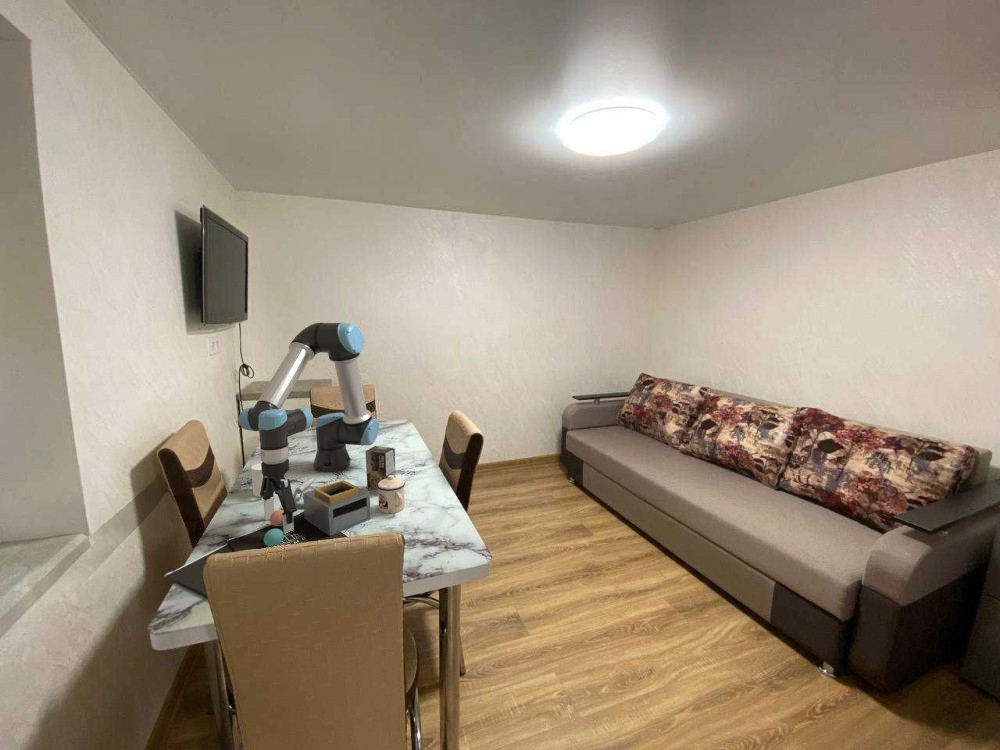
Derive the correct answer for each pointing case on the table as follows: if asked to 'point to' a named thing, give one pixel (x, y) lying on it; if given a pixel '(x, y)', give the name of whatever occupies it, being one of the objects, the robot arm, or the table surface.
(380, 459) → the coffee box
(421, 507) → the table surface
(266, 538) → the ball teal
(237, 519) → the table surface
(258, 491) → the mug
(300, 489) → the portable electronic device stand
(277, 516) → the ball terracotta
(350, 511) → the grey slotted box
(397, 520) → the table surface
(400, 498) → the teacup with lid
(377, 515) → the table surface
